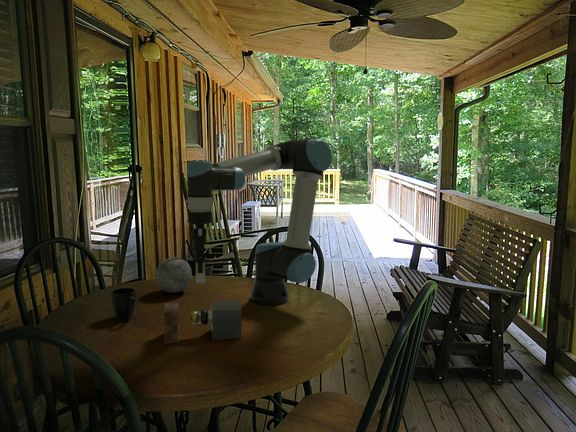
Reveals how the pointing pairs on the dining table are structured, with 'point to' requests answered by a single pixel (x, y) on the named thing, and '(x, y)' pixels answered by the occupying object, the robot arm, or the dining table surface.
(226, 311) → the sleeve
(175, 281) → the decorative orb
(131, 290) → the mug
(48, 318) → the dining table surface
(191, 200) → the robot arm
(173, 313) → the socket
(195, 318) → the tube
